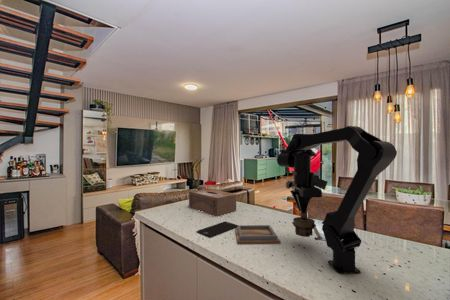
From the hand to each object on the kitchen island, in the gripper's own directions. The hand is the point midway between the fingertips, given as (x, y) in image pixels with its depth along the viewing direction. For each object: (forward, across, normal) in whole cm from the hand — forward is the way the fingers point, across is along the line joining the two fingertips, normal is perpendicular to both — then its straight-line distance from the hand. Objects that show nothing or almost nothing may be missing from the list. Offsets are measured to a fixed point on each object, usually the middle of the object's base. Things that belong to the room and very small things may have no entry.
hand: (302, 212), depth 79 cm
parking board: (+13, +10, +15) cm, 22 cm away
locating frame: (+12, +10, +15) cm, 21 cm away
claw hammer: (+13, +15, -13) cm, 24 cm away
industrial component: (+8, 0, 0) cm, 8 cm away
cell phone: (+13, +18, +30) cm, 38 cm away
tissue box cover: (+13, +51, +34) cm, 63 cm away
